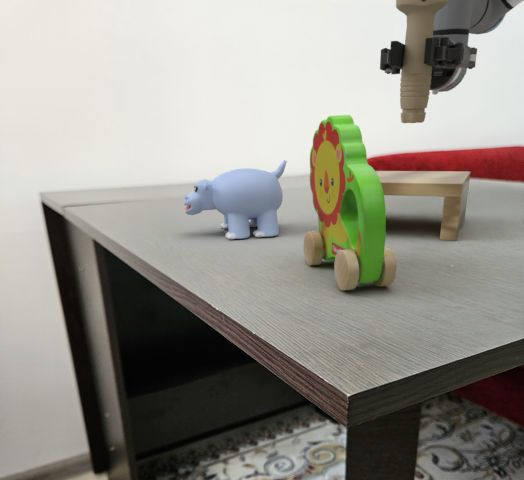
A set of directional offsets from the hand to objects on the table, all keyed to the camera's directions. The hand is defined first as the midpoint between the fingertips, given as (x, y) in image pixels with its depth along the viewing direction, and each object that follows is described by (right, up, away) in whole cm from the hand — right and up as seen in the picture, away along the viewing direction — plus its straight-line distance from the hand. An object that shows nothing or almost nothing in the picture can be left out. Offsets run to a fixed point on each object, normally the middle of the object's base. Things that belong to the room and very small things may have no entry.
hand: (410, 52), depth 64 cm
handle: (+2, -5, +8) cm, 10 cm away
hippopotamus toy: (-22, -20, +12) cm, 32 cm away
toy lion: (-10, -29, -9) cm, 32 cm away
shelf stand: (+2, -19, +11) cm, 22 cm away
